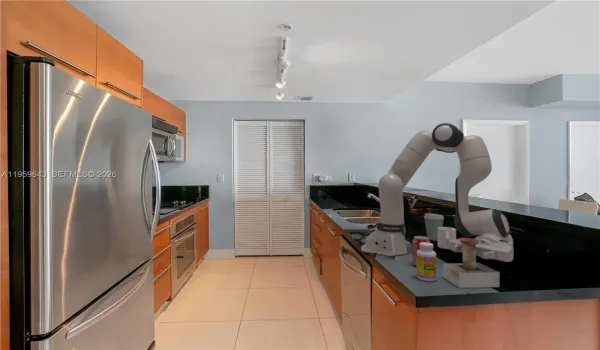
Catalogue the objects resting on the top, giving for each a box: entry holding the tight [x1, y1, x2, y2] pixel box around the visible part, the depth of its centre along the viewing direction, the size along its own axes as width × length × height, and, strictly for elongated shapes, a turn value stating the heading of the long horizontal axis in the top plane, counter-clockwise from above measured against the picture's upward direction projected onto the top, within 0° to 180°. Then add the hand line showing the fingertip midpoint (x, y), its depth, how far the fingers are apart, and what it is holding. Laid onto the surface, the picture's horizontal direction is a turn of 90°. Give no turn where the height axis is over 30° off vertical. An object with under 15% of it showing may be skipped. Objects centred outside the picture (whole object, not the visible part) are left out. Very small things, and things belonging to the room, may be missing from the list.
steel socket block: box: [442, 262, 501, 289], centre depth 98 cm, size 14×10×5 cm
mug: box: [437, 226, 457, 250], centre depth 144 cm, size 12×9×10 cm
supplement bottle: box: [416, 242, 437, 282], centre depth 102 cm, size 7×7×13 cm
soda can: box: [411, 235, 431, 267], centre depth 116 cm, size 7×7×12 cm
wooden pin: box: [459, 237, 478, 271], centre depth 99 cm, size 6×6×14 cm
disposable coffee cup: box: [423, 213, 445, 242], centre depth 163 cm, size 11×11×15 cm
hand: (469, 252), depth 98 cm, fingers open, 8 cm apart
